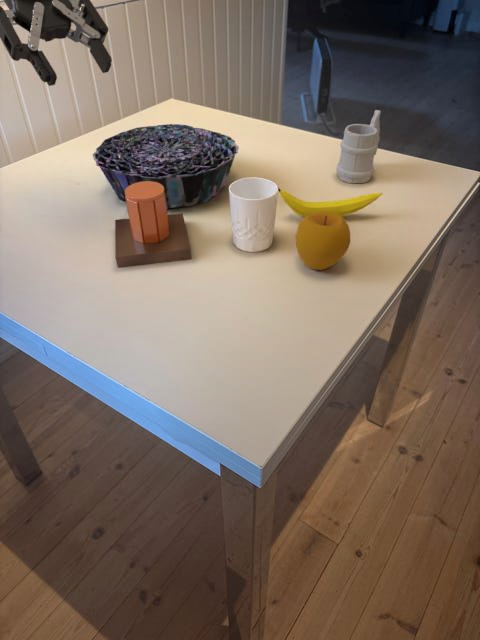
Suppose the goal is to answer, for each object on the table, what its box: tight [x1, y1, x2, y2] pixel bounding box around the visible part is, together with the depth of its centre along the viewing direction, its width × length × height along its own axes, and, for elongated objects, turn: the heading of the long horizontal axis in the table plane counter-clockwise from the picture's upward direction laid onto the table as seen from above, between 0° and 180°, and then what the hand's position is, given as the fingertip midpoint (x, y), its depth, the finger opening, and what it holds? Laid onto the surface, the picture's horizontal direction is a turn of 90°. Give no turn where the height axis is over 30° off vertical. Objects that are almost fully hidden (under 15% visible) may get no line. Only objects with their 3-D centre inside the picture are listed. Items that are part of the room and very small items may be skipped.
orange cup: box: [125, 181, 170, 244], centre depth 80 cm, size 6×6×8 cm
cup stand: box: [114, 212, 192, 268], centre depth 81 cm, size 12×12×8 cm
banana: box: [278, 186, 383, 218], centre depth 88 cm, size 3×19×6 cm, turn 92°
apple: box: [295, 211, 351, 271], centre depth 76 cm, size 8×8×9 cm
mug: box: [335, 109, 382, 184], centre depth 100 cm, size 8×12×12 cm, turn 139°
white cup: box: [228, 176, 279, 253], centre depth 81 cm, size 8×8×10 cm
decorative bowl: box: [92, 123, 240, 210], centre depth 97 cm, size 26×28×10 cm
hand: (81, 75), depth 67 cm, fingers open, 8 cm apart
